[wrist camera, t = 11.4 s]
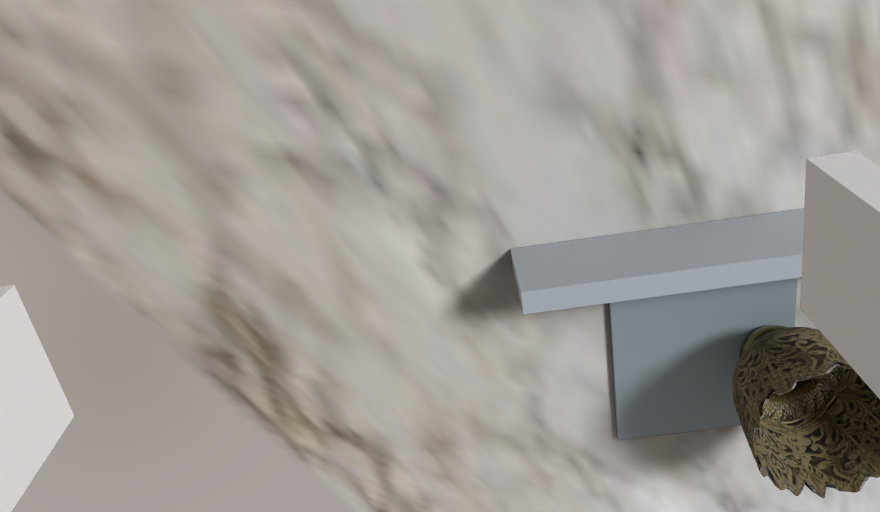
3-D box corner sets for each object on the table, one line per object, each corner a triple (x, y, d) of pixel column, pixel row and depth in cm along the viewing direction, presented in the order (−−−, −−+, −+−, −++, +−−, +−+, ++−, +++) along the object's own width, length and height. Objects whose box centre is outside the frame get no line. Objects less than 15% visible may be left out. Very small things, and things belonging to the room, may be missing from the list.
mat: (608, 287, 42) (609, 291, 42) (794, 262, 42) (797, 265, 41) (617, 436, 46) (618, 440, 46) (786, 414, 46) (789, 418, 45)
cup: (777, 421, 45) (844, 521, 38) (674, 372, 44) (723, 465, 37) (862, 323, 43) (951, 409, 36) (755, 266, 41) (826, 345, 34)
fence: (510, 248, 41) (520, 292, 36) (958, 187, 40) (1026, 224, 35) (532, 440, 46) (544, 498, 42) (929, 390, 45) (985, 444, 41)
